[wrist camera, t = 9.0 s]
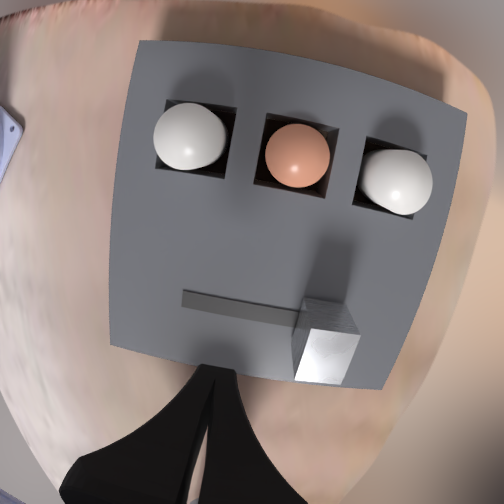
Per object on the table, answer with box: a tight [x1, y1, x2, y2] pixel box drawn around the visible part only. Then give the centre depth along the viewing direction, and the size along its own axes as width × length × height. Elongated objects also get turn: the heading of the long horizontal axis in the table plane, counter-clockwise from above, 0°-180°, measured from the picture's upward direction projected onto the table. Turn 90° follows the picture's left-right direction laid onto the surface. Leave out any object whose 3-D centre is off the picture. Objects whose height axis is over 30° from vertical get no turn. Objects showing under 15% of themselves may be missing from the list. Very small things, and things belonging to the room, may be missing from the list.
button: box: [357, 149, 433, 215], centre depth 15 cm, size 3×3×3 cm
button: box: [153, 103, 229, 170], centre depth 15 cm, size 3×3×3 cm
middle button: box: [265, 124, 330, 187], centre depth 16 cm, size 3×3×3 cm
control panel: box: [109, 40, 467, 390], centre depth 18 cm, size 18×18×3 cm
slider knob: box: [291, 298, 361, 385], centre depth 16 cm, size 2×3×3 cm
